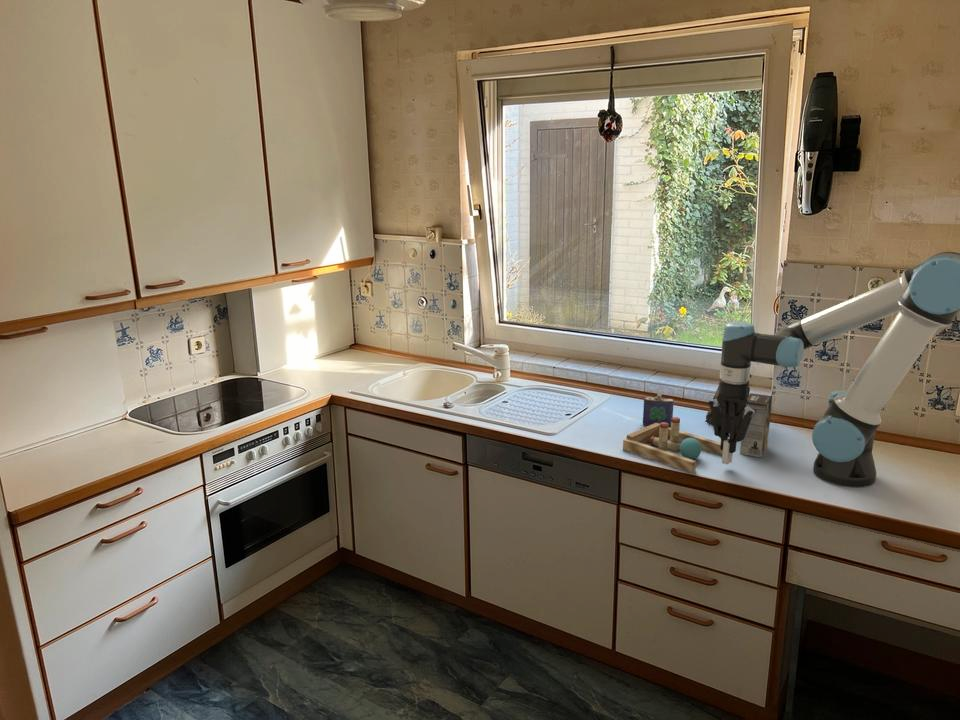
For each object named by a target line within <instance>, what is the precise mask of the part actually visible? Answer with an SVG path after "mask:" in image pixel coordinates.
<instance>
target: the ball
mask: <svg viewBox="0 0 960 720" xmlns="http://www.w3.org/2000/svg"><path fill="white" fill-rule="evenodd" d="M679 444H680V453H681V454H682V456H683V457H685V458H688V459H691V460H695V459H697V458H698V457H699V456H700V454H701V453H702V451H703V449H702V448H701V444H700V443H699V442H698V441H697V440H696V439H694V438H687V439H685V440H683V441H682V442H681V443H679Z"/></svg>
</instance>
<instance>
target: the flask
mask: <svg viewBox="0 0 960 720" xmlns="http://www.w3.org/2000/svg"><path fill="white" fill-rule="evenodd" d="M662 395H663V394H661V393H658V394H657V395H656V396H655V397H652V396H648V397H645V398H644V399H643V410H642V411H643V414H642V426H644V427H647V426H649V425H651V424H654V423H659V424H660V423H661V422H666V423H668V424H669V425H668V427H670V428H671V420H672V417H674V402H675V400H674V399H672V398H662Z"/></svg>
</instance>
